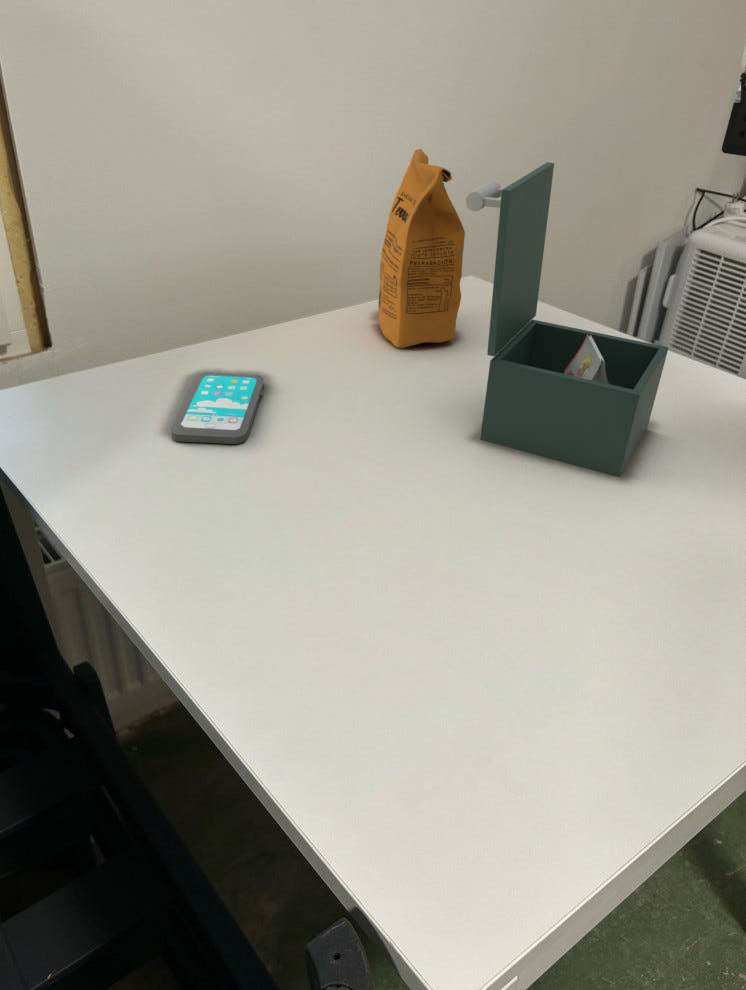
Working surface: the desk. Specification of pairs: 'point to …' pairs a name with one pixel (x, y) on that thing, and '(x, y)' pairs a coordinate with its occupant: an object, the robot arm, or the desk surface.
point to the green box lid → (516, 250)
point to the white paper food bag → (588, 363)
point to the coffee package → (421, 259)
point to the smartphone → (218, 408)
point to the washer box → (571, 397)
